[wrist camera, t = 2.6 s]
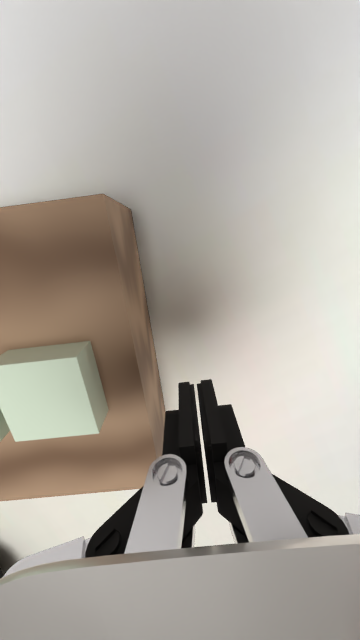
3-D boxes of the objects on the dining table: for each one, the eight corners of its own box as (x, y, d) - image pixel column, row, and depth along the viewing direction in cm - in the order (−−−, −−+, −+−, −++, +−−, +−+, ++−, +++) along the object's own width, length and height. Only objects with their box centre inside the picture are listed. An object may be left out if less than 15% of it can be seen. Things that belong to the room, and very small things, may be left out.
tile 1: (7, 350, 14) (-19, 367, 12) (90, 340, 14) (76, 357, 12) (34, 417, 16) (15, 441, 14) (108, 409, 16) (99, 433, 14)
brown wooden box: (-71, 235, 19) (-209, 235, 12) (130, 209, 18) (103, 193, 11) (17, 434, 25) (-41, 505, 19) (166, 419, 25) (162, 486, 18)
